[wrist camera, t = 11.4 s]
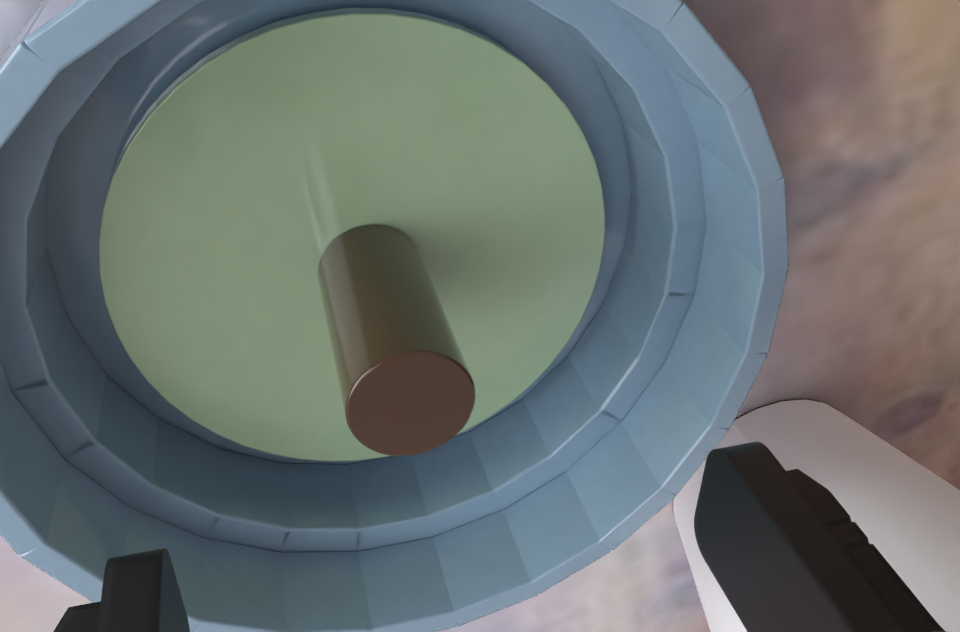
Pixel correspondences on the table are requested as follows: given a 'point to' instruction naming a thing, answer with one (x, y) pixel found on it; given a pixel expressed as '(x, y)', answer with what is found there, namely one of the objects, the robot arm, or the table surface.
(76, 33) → the bowl
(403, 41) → the lid
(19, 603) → the table surface
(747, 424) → the cup
